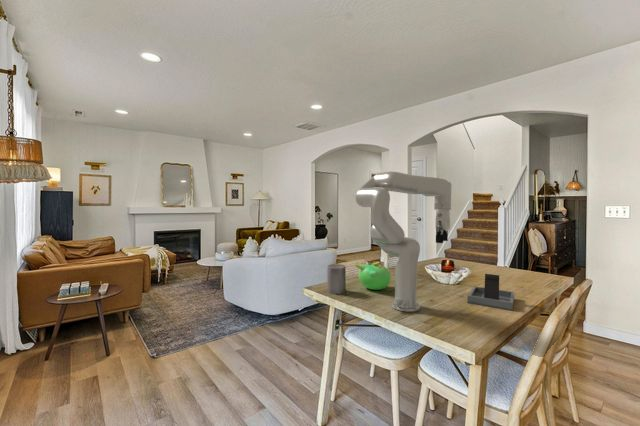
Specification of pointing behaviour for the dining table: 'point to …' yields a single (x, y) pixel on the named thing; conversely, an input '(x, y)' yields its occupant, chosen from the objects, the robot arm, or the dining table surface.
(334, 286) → the pillar candle
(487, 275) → the door stopper
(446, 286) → the dining table surface
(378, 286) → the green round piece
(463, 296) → the dining table surface
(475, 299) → the tray
